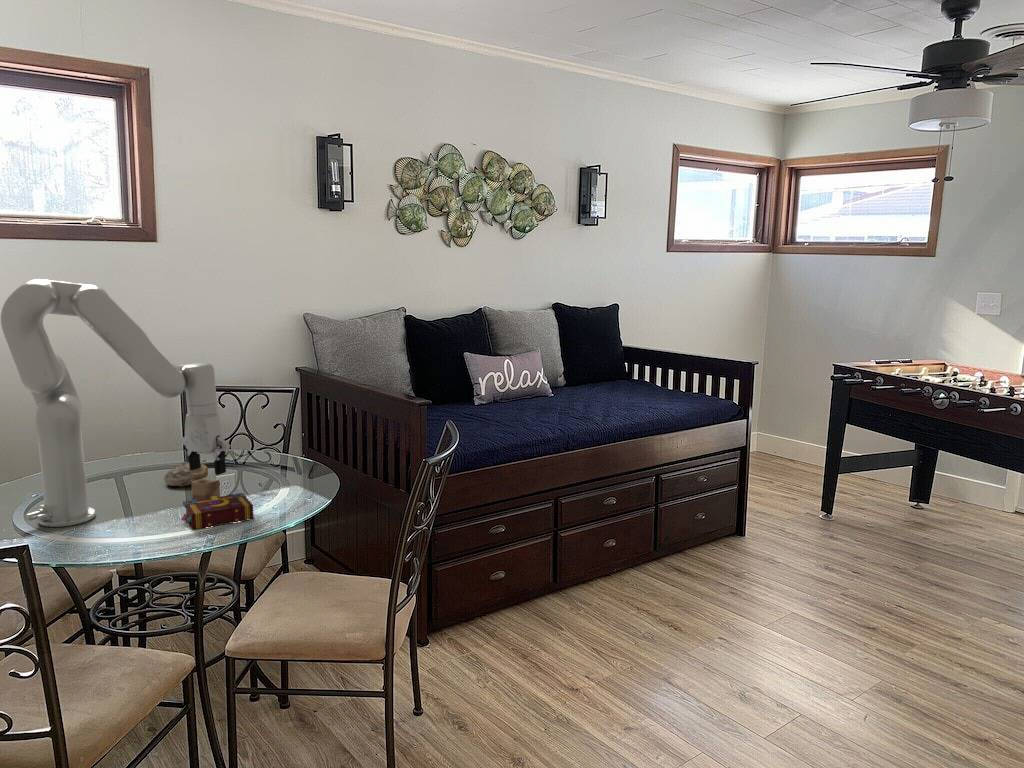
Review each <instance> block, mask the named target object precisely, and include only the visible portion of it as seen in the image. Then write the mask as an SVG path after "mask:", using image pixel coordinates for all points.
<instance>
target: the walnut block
mask: <svg viewBox="0 0 1024 768" xmlns="http://www.w3.org/2000/svg"><path fill="white" fill-rule="evenodd" d="M190 485H191V500H197V499H199V500H202V499H209V498H210V497H213V496H217V497H221V492H220V491H221V489H220V488H221V487H220V486H221V485H220V479H215V478H211V477H208V476H207V477H206V478H203V479H199V480H196V481H193V482H191V484H190Z"/></svg>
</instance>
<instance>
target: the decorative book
mask: <svg viewBox="0 0 1024 768" xmlns="http://www.w3.org/2000/svg"><path fill="white" fill-rule="evenodd" d="M182 505H183V506H184V508H185V513H183V516H182V517H181V518H180V519H181V521H184V520H185V521H186V522H187V524H189V525H190V527H191V529H192V530H196V529H197V530H198V529H203V528H205V527H211V526H214V527H215V525H216V526H221V525H220V524H222V525H226V524H225V523H228V524H231V523H230V522H238V521H242V520H246V521H248V520H247V519H252V520H254V504H253V503H252V502H251V501H250V500H249V499H248V498H247V496H246V495H245V493H244V492H238V493H233V494H227V495H223V496H220V497H217V496H213V497H210V498H209V499H202V500H199V499H197V500H192V499H190V500H183V501H182ZM242 522H243V521H242Z"/></svg>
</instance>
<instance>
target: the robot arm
mask: <svg viewBox="0 0 1024 768" xmlns="http://www.w3.org/2000/svg"><path fill="white" fill-rule="evenodd" d="M48 314H50V315H61V316H69V317H78V318H79V319H80V320H81V321H83V323H84V324H86V326H87V327H88V328H90V329H91V330H92V331H93V332H94V333H95V334H96V335H97V336H98V337H99V338H100V339H101V340H102V341H103V342H104V343H106V345H107V346H108V347H109V348H110V349H111V350H113V351H114V352H115V353H116V355H117V356H118V357H119V358H120V359H121V360H122V361H123V362H125V363H126V364H127V365H128V366H129V367H130V368H131V369H132V370H133V371H134V372H135V373H136V374H137V375H138V376H139V377H140V378H141V379H142V380H143V381H144V382H145V383H146V384H147V385H148V386H149V387H150V388H151V389H152V390H153V391H155V393H156V394H158V395H159V396H161V397H163V398H166V399H174V398H176V397H179V396H180V395H182V393H183V392H184V391H185V400H186V411H187V413H186V415H185V421H184V436H183V437H182V438H181V442H182V445H183V448H184V450H185V451H186V455H187V456H188V462H189V466H190V470H195V469H198V468H200V467H201V454H205V455H210V454H211V455H212V456H213V457H214V459H215V460H213V465H214V474H215V476H219V475H221V474H225V473H226V472H227V466H226V459H227V457H228V455H229V451H230V447H231V444H230V443H228V442H227V441H226V440H225V439H224V433H223V428H222V423H221V419H220V415H219V410H218V400H217V390H216V389H217V388H216V387H217V386H216V376H215V375H216V374H215V367H214V366H213V364H211V363H208V362H196V363H189V364H177V363H176V364H175V363H173V364H172V363H171V362H170V361H169V360H168V359H167V358H166V356H164V355H163V354H162V353H161V352H160V351H159V349H158V348H157V347H156V346H155V345H154V344H153V343H152V341H151V340H150V338H149V336H147V334H146V333H145V331H144V330H143V329H142V328H141V326H139V325H138V324H137V323H136V322H135V321H134V320H133V319H132V318H131V317H130V316H129V315H128V314H127V313H126V312H125V311H124V310H123V309H122V308H121V307H120V306H119V305H118V304H117V303H116V302H115V300H114V299H112V298H111V296H109V294H108V292H106V290H105V289H103V288H102V287H100V286H98V285H95V284H86V283H85V284H84V283H75V282H68V281H59V280H49V279H43V278H42V279H41V278H36V279H31V280H29V281H25V282H24V283H23V284H21V285H20V286H19V287H17V288H16V289H14V291H13V292H12V293H11V294H10V295H9V296H8V297H7V299H6V300H5V301H4V304H3V306H2V308H1V312H0V325H1V329H2V333H3V335H4V338H5V341H6V343H7V346H8V349H9V351H10V354H11V356H12V359H13V361H14V364H15V366H16V369H17V372H18V374H19V379H20V381H21V383H22V384H23V386H24V387H26V388H27V390H29V391H30V393H31V395H32V398H33V399H34V402H35V404H36V406H37V409H36V412H35V419H34V420H35V429H36V436H37V445H38V454H39V461H40V462H39V463H40V471H41V482H42V495H43V504H40V505H39V508H38V509H37V510H36V511H31V512H28V513H25V514H24V520H25V522H31V521H35V520H37V521H38V524H39V525H41V526H44V527H48V526H49V527H51V528H52V527H53V528H57V527H58V528H61V527H69V526H74V525H75V526H76V525H79V524H83V523H86V522H89V521H90V520H92V519H94V518H95V516H96V510H95V508H93V507H89V506H88V504H89V503H88V491H87V490H88V489H87V480H86V479H87V477H86V467H85V455H84V444H83V443H84V442H83V434H82V433H83V432H82V403H81V400H80V397H79V395H78V393H77V390H76V387H75V385H74V383H73V380H72V378H71V375H70V373H69V371H68V368H67V365H66V363H65V362H64V359H62V357H60V355H59V354H57V353H56V352H55V351H54V350H53V347H52V344H51V343H50V339H49V336H48V333H47V332H46V329H45V327H44V318H45V316H46V315H48ZM115 353H114V354H115Z"/></svg>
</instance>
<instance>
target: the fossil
mask: <svg viewBox="0 0 1024 768" xmlns="http://www.w3.org/2000/svg"><path fill="white" fill-rule="evenodd" d="M200 464H201V463H200ZM208 475H209V467H208V466H207V465H206V464H205V463H202V464H201V467H200V468H198V469H195V470H190V466H189V461H182V462H181V465H179V466H176V467H174V468H172V469H169V470H168V471H167V473H166V474H165V475H164V477H163V481H164V482H165V484H166V485H169V486H172V487H175V486H176V487H180V488H183V487H188V486H190V485H191V482H193V481H196V480H199V479H203V478H206V477H207V478H208Z"/></svg>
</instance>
